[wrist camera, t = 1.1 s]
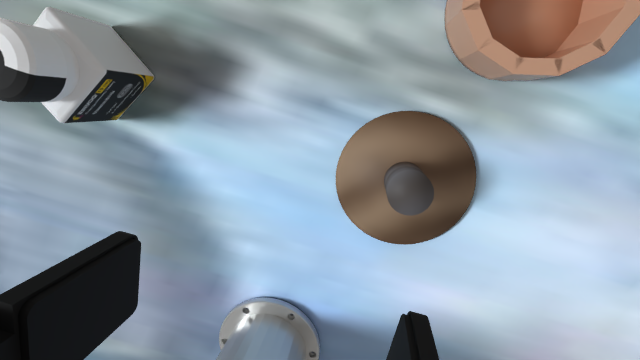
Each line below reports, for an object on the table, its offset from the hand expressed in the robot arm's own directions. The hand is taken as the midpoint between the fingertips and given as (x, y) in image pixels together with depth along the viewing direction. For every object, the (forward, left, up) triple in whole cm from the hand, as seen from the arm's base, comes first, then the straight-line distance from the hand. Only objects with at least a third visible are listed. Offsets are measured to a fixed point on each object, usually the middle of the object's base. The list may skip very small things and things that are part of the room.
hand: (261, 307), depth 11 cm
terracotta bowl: (+6, -21, -24) cm, 32 cm away
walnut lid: (-4, -6, -24) cm, 25 cm away
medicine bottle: (+20, +17, -24) cm, 35 cm away
